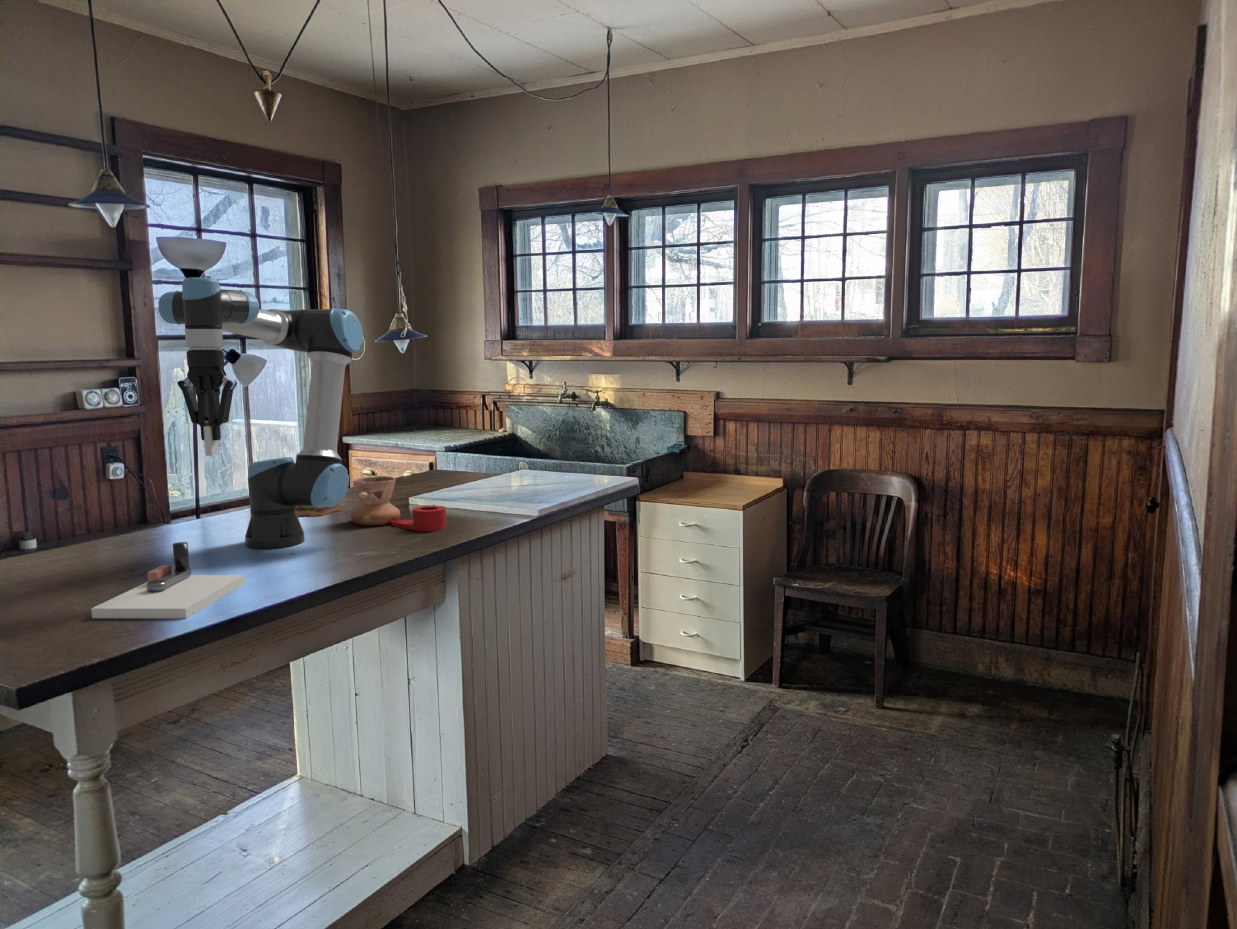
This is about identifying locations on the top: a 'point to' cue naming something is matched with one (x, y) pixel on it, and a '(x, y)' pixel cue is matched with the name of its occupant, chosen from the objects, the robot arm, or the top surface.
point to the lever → (424, 519)
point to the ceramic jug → (374, 501)
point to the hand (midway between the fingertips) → (212, 454)
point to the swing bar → (178, 574)
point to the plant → (318, 510)
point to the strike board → (169, 597)
